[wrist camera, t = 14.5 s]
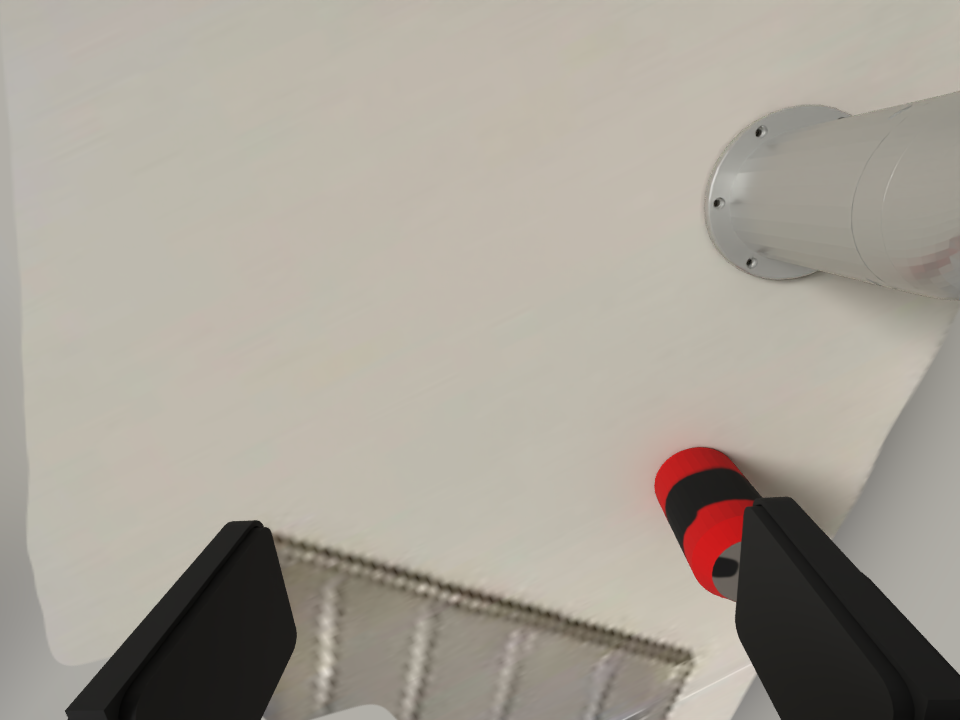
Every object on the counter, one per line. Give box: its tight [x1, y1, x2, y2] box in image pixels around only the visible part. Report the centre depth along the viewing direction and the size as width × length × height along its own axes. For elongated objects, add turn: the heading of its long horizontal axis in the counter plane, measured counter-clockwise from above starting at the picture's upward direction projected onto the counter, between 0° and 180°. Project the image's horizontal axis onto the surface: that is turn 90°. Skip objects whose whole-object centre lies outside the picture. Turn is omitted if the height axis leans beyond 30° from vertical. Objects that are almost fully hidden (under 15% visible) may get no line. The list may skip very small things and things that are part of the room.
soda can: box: [654, 447, 762, 602], centre depth 42 cm, size 8×8×12 cm
